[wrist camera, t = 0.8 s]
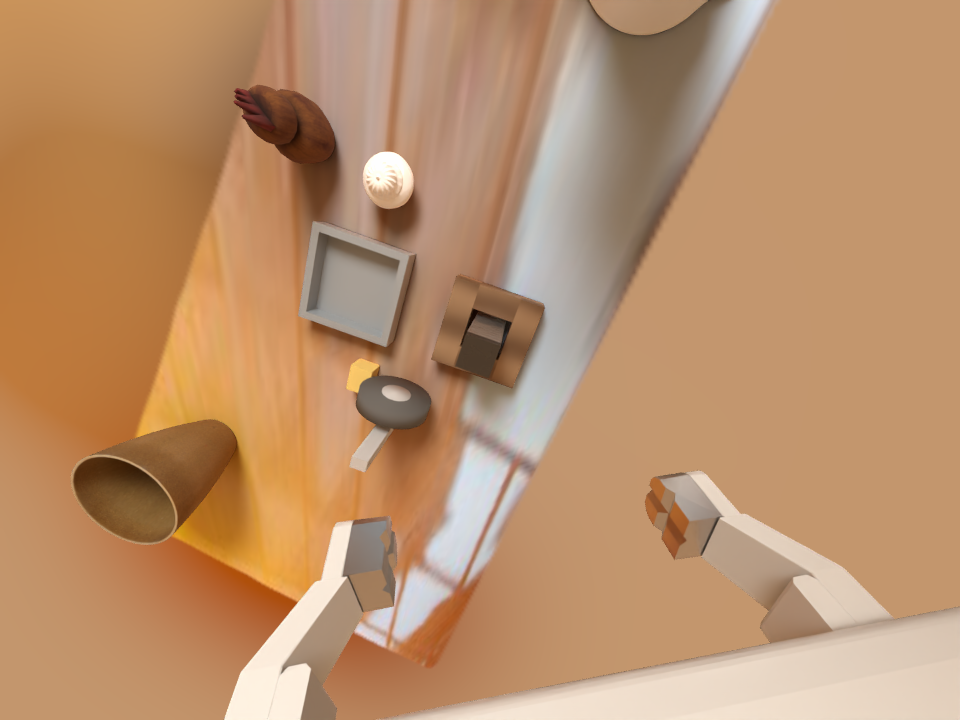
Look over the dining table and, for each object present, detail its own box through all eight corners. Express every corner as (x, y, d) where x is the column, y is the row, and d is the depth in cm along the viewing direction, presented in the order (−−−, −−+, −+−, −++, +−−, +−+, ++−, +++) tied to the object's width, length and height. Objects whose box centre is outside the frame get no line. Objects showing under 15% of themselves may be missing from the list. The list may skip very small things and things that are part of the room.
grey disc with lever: (360, 358, 55) (303, 401, 41) (439, 386, 55) (410, 438, 41) (351, 395, 57) (295, 447, 43) (427, 422, 57) (396, 483, 43)
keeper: (460, 273, 49) (456, 276, 46) (543, 303, 49) (544, 307, 46) (436, 352, 53) (431, 359, 51) (512, 380, 53) (512, 388, 51)
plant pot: (164, 437, 65) (55, 499, 50) (200, 383, 60) (92, 433, 45) (233, 489, 67) (149, 563, 52) (273, 440, 62) (193, 506, 47)
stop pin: (478, 311, 51) (465, 333, 39) (505, 320, 51) (500, 346, 39) (470, 337, 52) (455, 366, 41) (496, 346, 52) (488, 378, 41)
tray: (325, 221, 49) (312, 221, 46) (416, 254, 49) (409, 255, 46) (310, 311, 53) (298, 315, 51) (393, 341, 54) (386, 347, 51)
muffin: (411, 218, 48) (393, 216, 41) (368, 198, 47) (343, 192, 41) (428, 170, 46) (412, 160, 39) (383, 148, 45) (360, 134, 39)
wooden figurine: (348, 161, 46) (272, 130, 32) (308, 173, 47) (217, 148, 33) (330, 101, 44) (240, 39, 30) (289, 115, 45) (183, 61, 31)
